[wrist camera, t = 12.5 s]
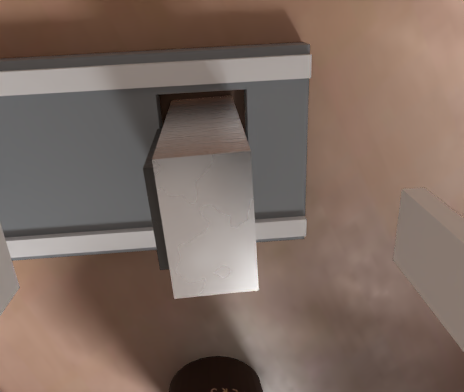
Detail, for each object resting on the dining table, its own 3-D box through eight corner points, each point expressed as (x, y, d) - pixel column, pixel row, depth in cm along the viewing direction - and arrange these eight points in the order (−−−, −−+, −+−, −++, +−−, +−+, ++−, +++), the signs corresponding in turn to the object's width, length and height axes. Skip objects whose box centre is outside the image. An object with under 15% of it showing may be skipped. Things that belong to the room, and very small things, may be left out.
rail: (298, 225, 24) (362, 367, 15) (-130, 257, 23) (-365, 432, 14) (302, 42, 20) (394, 72, 10) (-219, 70, 19) (-644, 132, 9)
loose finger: (238, 190, 23) (258, 290, 15) (174, 196, 23) (160, 300, 15) (231, 95, 21) (250, 150, 13) (161, 101, 21) (135, 161, 13)
